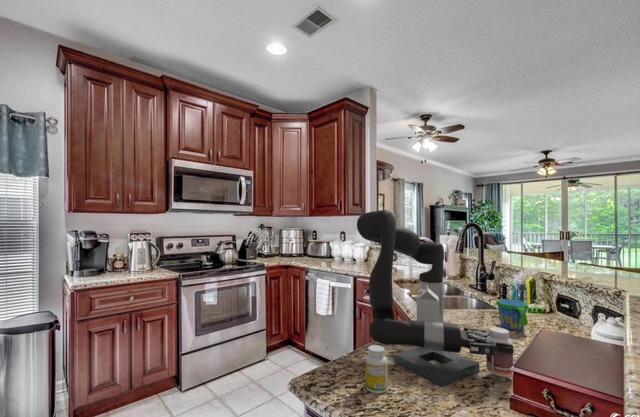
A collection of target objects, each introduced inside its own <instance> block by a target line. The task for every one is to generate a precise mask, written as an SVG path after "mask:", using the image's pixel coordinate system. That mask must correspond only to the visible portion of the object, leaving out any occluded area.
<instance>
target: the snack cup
mask: <svg viewBox="0 0 640 417" xmlns="http://www.w3.org/2000/svg"><path fill="white" fill-rule="evenodd" d="M495 303H496V306H497V308H498V309H497V310H498V314H499V320H500V325H501V328H503V329H506V330H508V331H509V330H510V331H514V332H518V331H523V330H524V329H525V326H527V325H528V324H529V323H528V321H529V320H528V317H527V310H528V308H529V304H528V303H527V302H525V301H522V300H518V299H517V300H516V299H509V298H500V299H496V301H495Z"/></svg>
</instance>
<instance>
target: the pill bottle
mask: <svg viewBox="0 0 640 417" xmlns="http://www.w3.org/2000/svg"><path fill="white" fill-rule="evenodd" d="M488 332H489V334H490V336H488V337H487V338H486V339H487V340H488V341H492V342H497V343H505V344H511V345H512V346H513V345H514V343H513V341H512V340H511V339H510V331H509V329H506V328H504V327H497V326H496V327H495V326H493V327H492V326H491V327H488ZM513 347H514V346H513ZM487 348H490V347H487ZM485 357H486V358H485V359H486V361H485V362H486V370H487V371H488V372H489V373H490V374H492V375H495V376H497V377H501V378H502V377H503V378H510V377H512V376H513V375H512V372H511V370H510V369H511V367H512V366H513V367H514V353H513V354H508V353H500V352H497V353H495V356H492V355H485Z"/></svg>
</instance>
